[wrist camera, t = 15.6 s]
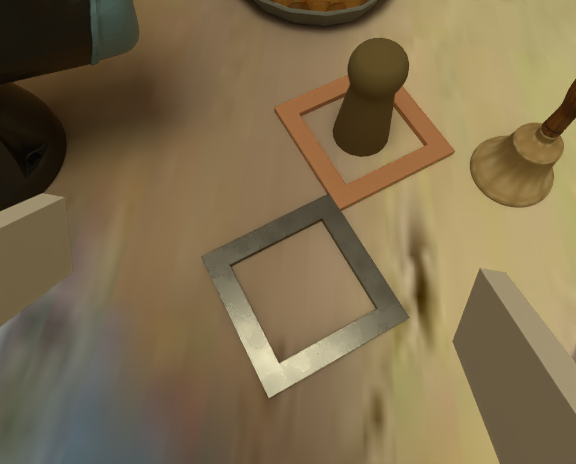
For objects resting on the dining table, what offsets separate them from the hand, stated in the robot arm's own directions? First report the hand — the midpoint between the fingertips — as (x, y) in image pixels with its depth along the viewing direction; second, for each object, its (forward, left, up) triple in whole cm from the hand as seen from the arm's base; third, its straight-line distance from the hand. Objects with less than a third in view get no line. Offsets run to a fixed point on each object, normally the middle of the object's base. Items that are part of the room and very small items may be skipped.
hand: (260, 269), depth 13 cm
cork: (-16, +18, -24) cm, 34 cm away
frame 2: (-4, +4, -24) cm, 25 cm away
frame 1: (-16, +18, -24) cm, 34 cm away
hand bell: (-4, +29, -24) cm, 38 cm away
